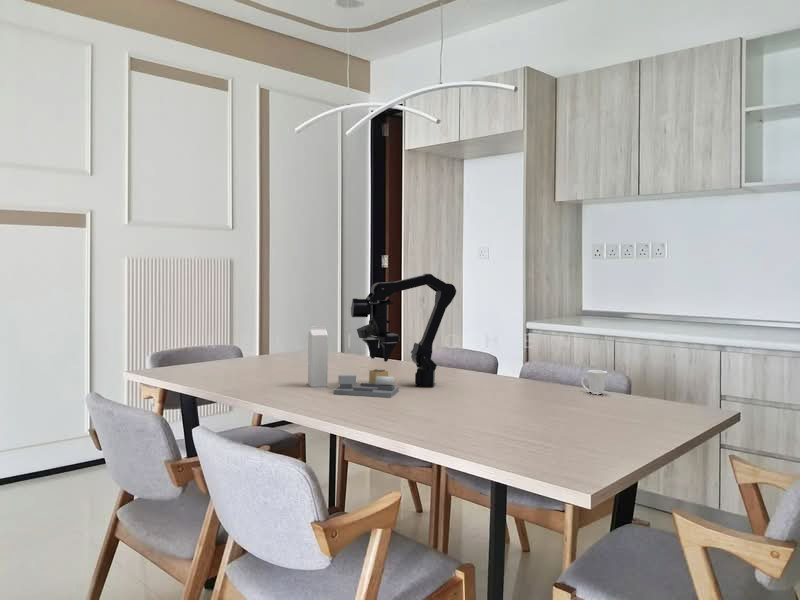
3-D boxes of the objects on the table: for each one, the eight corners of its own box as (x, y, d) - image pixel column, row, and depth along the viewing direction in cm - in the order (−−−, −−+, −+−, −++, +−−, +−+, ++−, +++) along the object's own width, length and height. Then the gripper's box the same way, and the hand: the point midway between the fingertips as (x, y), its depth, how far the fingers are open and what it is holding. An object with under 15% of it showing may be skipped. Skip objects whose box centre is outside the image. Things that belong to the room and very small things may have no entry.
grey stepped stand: (398, 391, 226) (398, 374, 225) (390, 397, 214) (391, 379, 214) (344, 388, 230) (344, 371, 230) (333, 394, 218) (333, 376, 218)
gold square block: (380, 385, 237) (381, 368, 237) (387, 387, 233) (388, 370, 233) (369, 386, 235) (369, 369, 234) (376, 388, 230) (376, 371, 230)
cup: (599, 396, 222) (600, 373, 222) (575, 392, 230) (576, 369, 230) (611, 394, 226) (611, 371, 226) (587, 390, 234) (587, 368, 234)
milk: (307, 384, 236) (308, 325, 236) (323, 384, 239) (324, 324, 238) (311, 387, 231) (311, 326, 230) (327, 386, 233) (328, 326, 232)
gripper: (347, 316, 236) (347, 358, 237) (373, 319, 221) (372, 364, 221) (374, 315, 242) (373, 356, 243) (400, 318, 227) (400, 362, 227)
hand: (379, 360), depth 234 cm, fingers open, 9 cm apart
